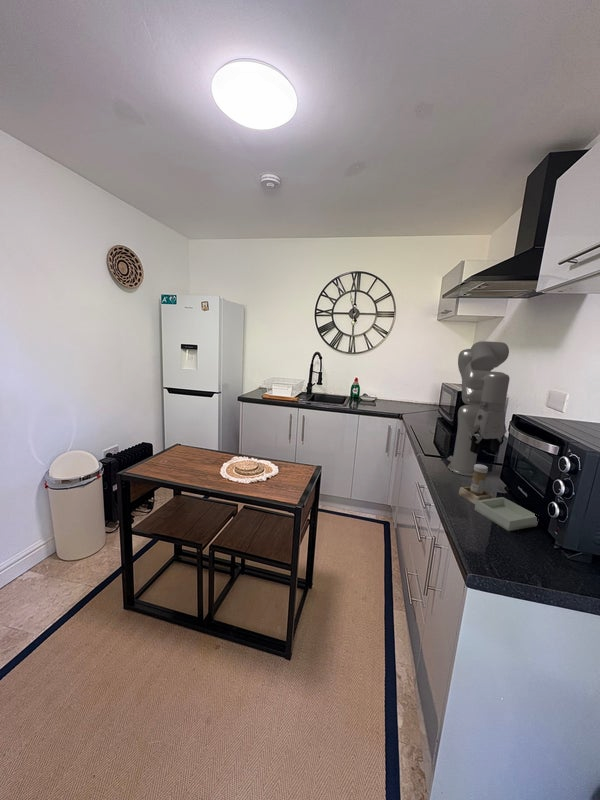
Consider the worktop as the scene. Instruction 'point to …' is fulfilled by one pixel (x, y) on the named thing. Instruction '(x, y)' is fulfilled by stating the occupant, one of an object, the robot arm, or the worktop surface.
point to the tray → (506, 513)
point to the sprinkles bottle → (478, 479)
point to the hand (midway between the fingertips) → (484, 451)
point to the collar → (473, 498)
